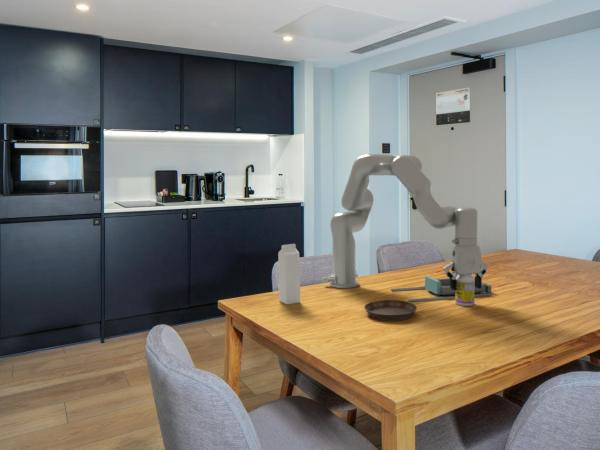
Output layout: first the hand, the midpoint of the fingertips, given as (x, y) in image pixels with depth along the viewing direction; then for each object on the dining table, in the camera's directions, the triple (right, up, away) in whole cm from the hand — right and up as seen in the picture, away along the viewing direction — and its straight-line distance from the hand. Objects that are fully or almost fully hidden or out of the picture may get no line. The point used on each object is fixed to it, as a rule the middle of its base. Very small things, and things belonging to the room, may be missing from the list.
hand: (465, 288), depth 183 cm
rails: (-5, -4, +17) cm, 18 cm away
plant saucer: (-29, -8, -10) cm, 32 cm away
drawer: (+2, -4, +19) cm, 19 cm away
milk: (-64, -6, +8) cm, 65 cm away
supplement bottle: (0, -6, +1) cm, 6 cm away
